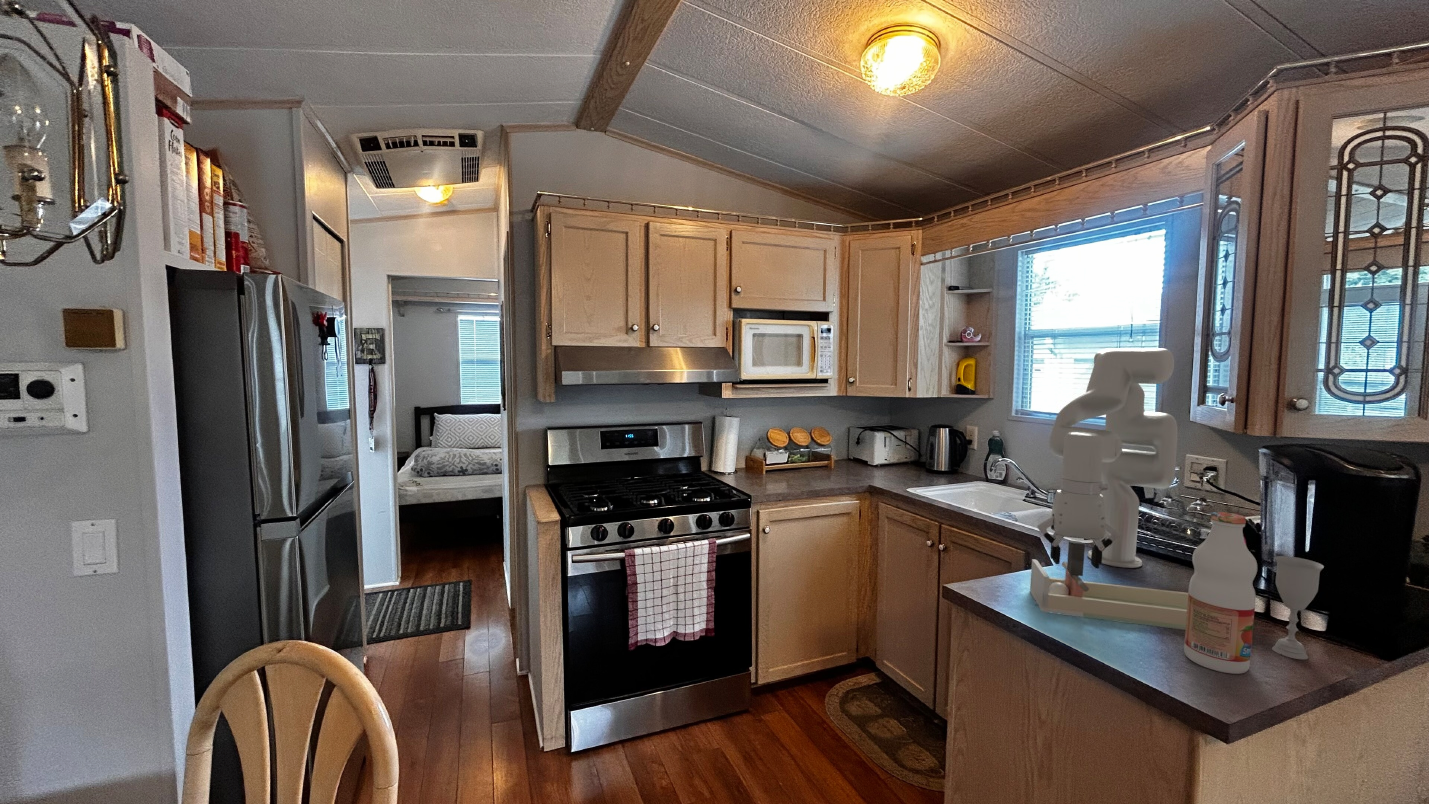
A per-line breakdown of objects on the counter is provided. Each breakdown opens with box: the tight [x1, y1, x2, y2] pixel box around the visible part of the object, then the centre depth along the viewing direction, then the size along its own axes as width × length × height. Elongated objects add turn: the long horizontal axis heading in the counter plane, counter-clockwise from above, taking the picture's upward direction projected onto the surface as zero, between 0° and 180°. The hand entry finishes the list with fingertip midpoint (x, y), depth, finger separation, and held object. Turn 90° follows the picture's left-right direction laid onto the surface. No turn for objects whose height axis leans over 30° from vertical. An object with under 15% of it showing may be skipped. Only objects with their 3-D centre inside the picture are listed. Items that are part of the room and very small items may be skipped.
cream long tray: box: [1029, 558, 1188, 631], centre depth 133 cm, size 12×32×8 cm, turn 73°
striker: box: [1061, 540, 1089, 597], centre depth 135 cm, size 16×2×13 cm, turn 163°
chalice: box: [1271, 555, 1325, 660], centre depth 114 cm, size 7×7×18 cm
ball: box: [1049, 582, 1069, 596], centre depth 136 cm, size 4×4×4 cm
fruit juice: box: [1183, 511, 1258, 675], centre depth 110 cm, size 9×9×28 cm
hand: (1075, 563), depth 135 cm, fingers open, 7 cm apart
